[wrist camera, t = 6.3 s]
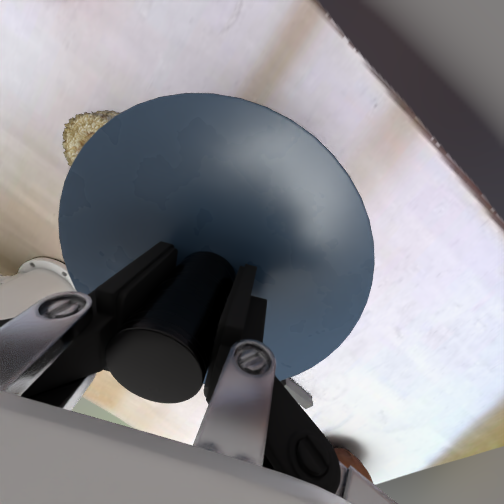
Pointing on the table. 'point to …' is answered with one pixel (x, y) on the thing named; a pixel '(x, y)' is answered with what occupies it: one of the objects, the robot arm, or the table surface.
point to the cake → (83, 131)
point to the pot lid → (216, 234)
